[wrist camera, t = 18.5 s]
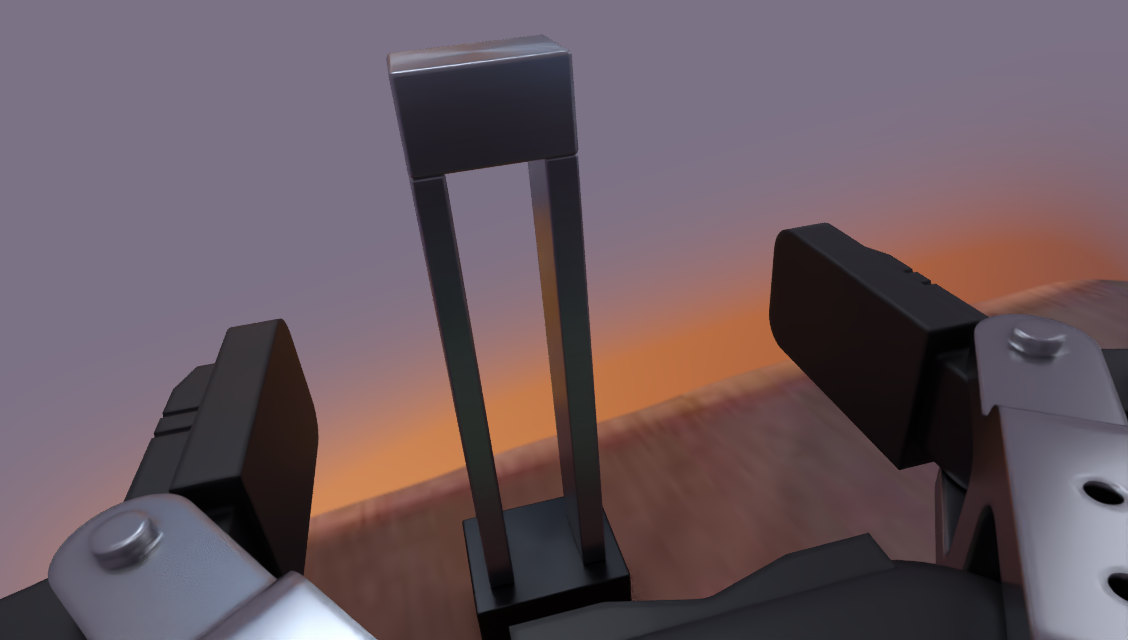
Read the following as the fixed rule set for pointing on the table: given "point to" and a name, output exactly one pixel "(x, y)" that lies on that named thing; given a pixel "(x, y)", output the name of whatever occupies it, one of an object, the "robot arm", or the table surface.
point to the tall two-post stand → (549, 144)
